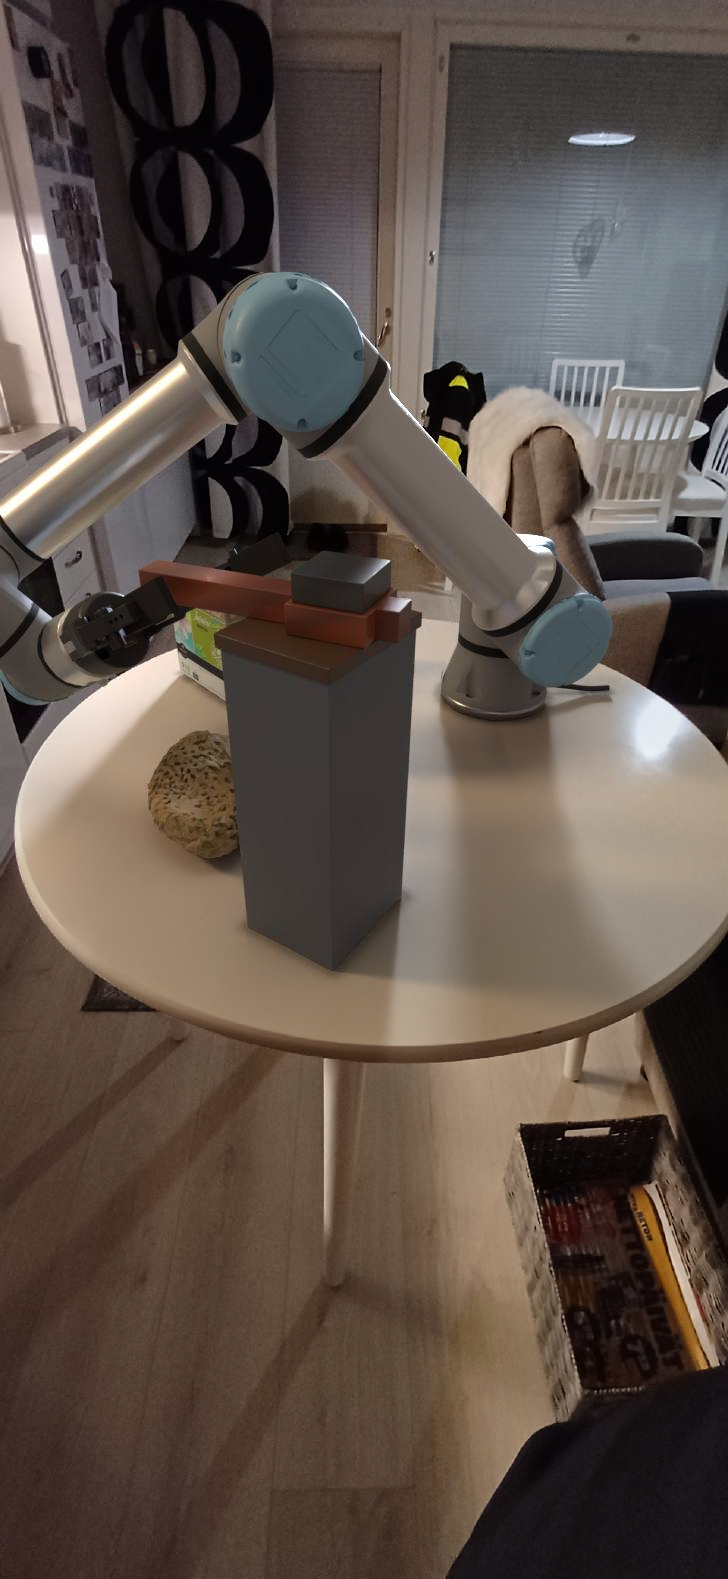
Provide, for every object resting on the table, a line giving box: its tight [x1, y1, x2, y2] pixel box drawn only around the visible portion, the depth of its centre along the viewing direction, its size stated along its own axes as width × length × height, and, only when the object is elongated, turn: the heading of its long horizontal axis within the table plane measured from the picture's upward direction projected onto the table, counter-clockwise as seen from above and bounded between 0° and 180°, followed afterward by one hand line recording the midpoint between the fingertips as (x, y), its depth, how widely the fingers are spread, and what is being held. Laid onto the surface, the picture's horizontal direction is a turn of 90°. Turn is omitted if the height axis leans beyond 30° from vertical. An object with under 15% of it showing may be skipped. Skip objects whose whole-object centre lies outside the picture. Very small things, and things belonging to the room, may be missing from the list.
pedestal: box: [214, 609, 423, 972], centre depth 68 cm, size 11×13×30 cm
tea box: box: [171, 608, 247, 703], centre depth 113 cm, size 15×10×15 cm, turn 42°
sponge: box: [147, 729, 240, 859], centre depth 87 cm, size 13×8×20 cm
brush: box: [137, 550, 413, 649], centre depth 59 cm, size 22×6×5 cm, turn 68°
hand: (229, 569), depth 62 cm, fingers open, 13 cm apart
